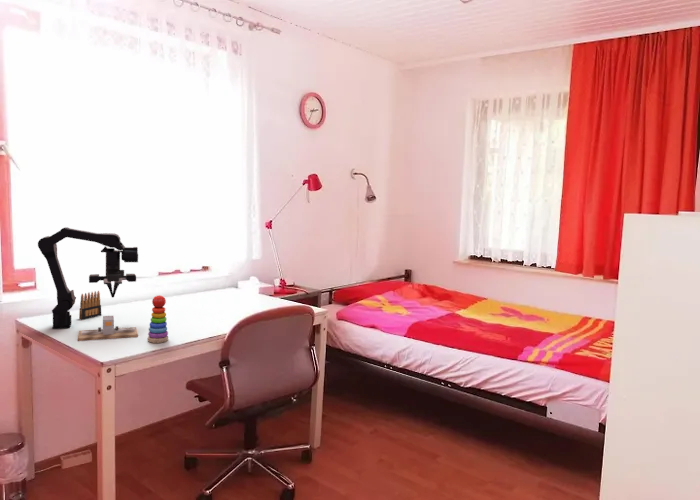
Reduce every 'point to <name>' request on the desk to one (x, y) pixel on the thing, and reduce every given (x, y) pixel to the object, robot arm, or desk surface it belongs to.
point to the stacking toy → (158, 321)
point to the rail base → (99, 335)
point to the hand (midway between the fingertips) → (112, 297)
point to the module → (108, 325)
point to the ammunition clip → (90, 306)
